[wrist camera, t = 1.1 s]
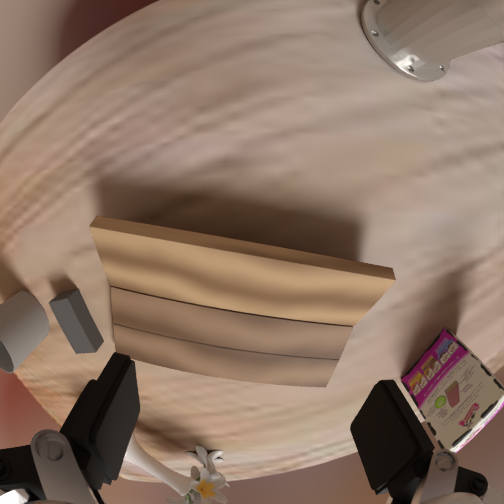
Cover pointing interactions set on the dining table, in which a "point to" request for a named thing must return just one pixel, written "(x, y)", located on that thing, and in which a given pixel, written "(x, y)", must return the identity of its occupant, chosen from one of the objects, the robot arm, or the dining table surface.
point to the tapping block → (76, 322)
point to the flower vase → (198, 484)
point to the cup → (20, 329)
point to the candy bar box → (453, 391)
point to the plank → (237, 273)
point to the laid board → (225, 341)
